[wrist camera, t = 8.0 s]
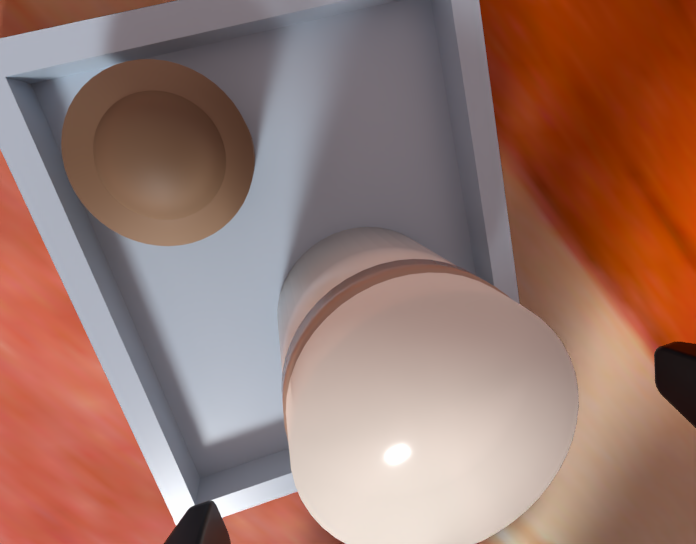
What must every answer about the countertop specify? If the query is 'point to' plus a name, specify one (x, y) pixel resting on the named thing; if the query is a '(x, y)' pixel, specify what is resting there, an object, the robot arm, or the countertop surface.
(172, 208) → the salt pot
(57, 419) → the countertop surface
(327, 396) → the cream lidded jar
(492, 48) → the countertop surface
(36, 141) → the tray
